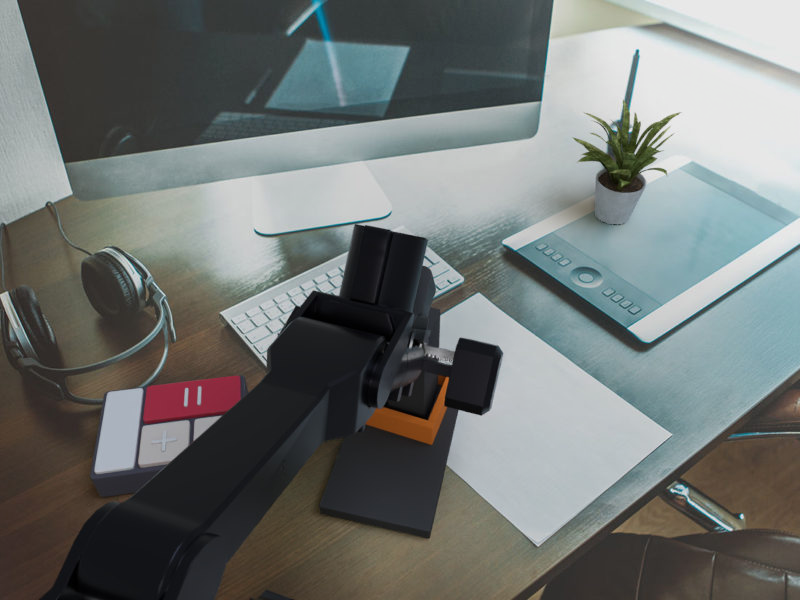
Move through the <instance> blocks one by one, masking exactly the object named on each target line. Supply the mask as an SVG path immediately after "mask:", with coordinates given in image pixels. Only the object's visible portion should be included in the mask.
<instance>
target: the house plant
mask: <svg viewBox="0 0 800 600" xmlns="http://www.w3.org/2000/svg"><path fill="white" fill-rule="evenodd" d="M622 107H623V108H622V109H623V111H622V112H623V117H622V118H623V119H622V127H620V126H619V125H618V124H617V123H616V122H615V121H613V120H612V119H610V121H611V122H612V123H613V124H614V125H615V126H616V128H617V132H616V134H615V131H614V130H613V129H612V128H611V126H610V124H609V123H607V122H606V121H605V120H604V119H602V118H600V117H598V116H595V115H594V114H590V113H588V112H584V111H582V113H583V114H585V115H587V116H589V117H591V118H592V119H594V120H591V121H592V122H594V123H596V124H598V125H600V126H601V128H602V129H603V130H604V132H605V133H606V136H607V138H608V140H605V139H604V138H603V137H602V136H600V135H599V134H597V133H595V132H589V135H593V136H596V137H598V138H600V139H601V140H602V141H603V142H605V144H607V146H608V147H609V148H610V150H611V152H612V154H613V156H614V158H615V160H614V159H613V157H611V156H610V155H609V154H608V153H607V152H605V151H604V150H602V149H600V148H599V147H596V146H595V145H593V144H592V143H590V142H588V141H586V140H584V139H580V138H576V137H572V139H573V140H574V141H575V142H576V143H578V144H580V145H582V146H583V147H584V148H585V149H586V152H583V153H581V154H580V156H583V157H581V158H580V159H579V160H578V161H577V163H579V162H580V163H581V162H582V163H583V162H585V163H586V162H597V163H600V164H601V165H602V166H603V168H601V169H600V170H599V171H598V172H597V173H596V175H595V185H594V186H595V189H594V216H595V217H596V219H597V218H598V221H600V220H601V221H600V222H602V221H603V222H606V223H607V224H606V223H605V224H606V225H610V224H612V225H611V226H614V225H613V224H617V225H616V226H619V225H618V224H621V225H624V224H626V223H627V222H628V221H629V220H630V217H631V216H632V214H633V213H634V210H635V208H636V206H637V205H638V202H639V200H640V199H641V197H642V195H643V193H644V191H645V189H646V187H647V184H648V183H647V179H646V178H645V176H644V174H642V173H645V172H646V171H657V172H661V173H664V174H665V175H666V177H667V178H668V172H667V170H666V169H665V168H662V167H651V168H647V169H645V168H646V167H648V166H650V165H651V164H653V163H655V162H656V161H657V160H658V158H657V157H655V155H656V154H658V153H661V152H665V150H659V149H658V148H660V147H661V146H662V145H664V143H665V142H666V141H668V140H669V139H670V138H671V137H672V136H673V135H674V133H672V134H671V135H669V136H667V137H666V138H664V139H663V140H662V141H661V142H659V143H658V144H657V145H656V146H655V147H652V146H654V144H656V143H657V142H658V141H659V140H660V139H661V138H662V137H663V136H664V135H665V133H667V131H668V130H669V129H670V128H671V127H672V125H669V126H668V127H667V128H666V129H664V130H663V131H662V132H660V131H661V130H662V129H663V128H664V127H666V125H667V124H669V122H671V120H673V118H675V117H677V116H679V115H680V114H682V112H680V111H679V112H676V113H672V114H669V115H667V116H666V117H663V118H662V119H661V120H659V121H655V122H653V123H651V124H650V125H648V127H646V128H645V130H644V131H643V132H642V133H641V135H640V131H641V127H642V123H641V121H639V120H638V115H637V113H636V112H634V115H633V116H634V117H633V125H632V128H631V129H632V130H631V135H630V138H629V134H630V121H631V113H630V109H629V108H628V105H627V103H626V101H625V100H624V99H622ZM658 133H659V134H658ZM657 134H658V136H657ZM639 135H640V137H639ZM638 138H639V139H638ZM643 139H644V140H643ZM653 139H654V140H653ZM642 140H643V141H642ZM641 142H642V143H641ZM639 145H640V146H639ZM637 149H638V150H637ZM635 152H636V153H635ZM643 169H644V170H643ZM603 222H602V223H603ZM623 223H624V224H623Z"/></svg>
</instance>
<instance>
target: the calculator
mask: <svg viewBox="0 0 800 600" xmlns="http://www.w3.org/2000/svg"><path fill="white" fill-rule="evenodd" d="M248 392H249V390H248V384H247V378H246V376H245V375H243V374H239V375H230V376H229V375H228V376H222V377H213V378H205V379H196V380H195V379H194V380H187V381H180V382H170V383H163V384H153V385H147V386H139V387H130V388H122V389H114V390H108V391H106V392H104V394H103V398H102V403H101V404H102V405H101V409H100V416H99V421H98V422H99V423H98V428H97V433H96V440H95V444H94V450H93V456H92V462H91V468H90V475H89V478H90V481H91V482H92V484H93V486H94V488H95V489H96V492H97V493H98V495H99V496H100V497H101V498H105V497H106V498H108V497H113V496H114V497H115V496H120V495H127V494H135V493H136V492H137V491H138V490H139V489H140V488H141V487H142V486H144V485H145V484H146V483H147V482H148V481H149V480H150V479H151V478H153V477H154V476H155V475H156V474H157V473H158V472H159V471H161V470H162V469H163V468H164V467H165V466H166V465H167V464H168V463H170V462H171V461H172V460H173V459H174V458H175V457H176V456H177V455H179V454H180V453H181V452H182V451H183V450H184V449H185V448H186V447H188V446H189V445H190V444H191V443H192V442H193V441H194V440H195V439H197V438H198V437H199V436H200V435H201V434H202V433H203V432H204V431H206V430H207V429H208V428H209V427H210V426H211V425H212V424H213V423H215V422H216V421H217V420H218V419H219V418H220V417H221V416H222V415H224V414H225V413H226V412H227V411H228V410H229V409H230V408H232V407H233V406H234V405H235V404H236V403H237V402H238V401H239V400H241V399H242V398H243V397H244V396H245V395H246V394H247V393H248Z"/></svg>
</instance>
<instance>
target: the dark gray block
mask: <svg viewBox="0 0 800 600" xmlns="http://www.w3.org/2000/svg"><path fill="white" fill-rule="evenodd" d="M428 318H429V322H428V326H427V330H431V332H430V337H429V341H428V344H427V345H429V346H434V347H438V348H440V335H441V309H440V308H436V307H432V306H431V308H430V311H429V314H428ZM424 359H429V360H433V361H437V362H440V357H439V358H438V359H436V356H435V357H434V358H432V355H431V356H430V357H428V354H426V356H424ZM437 392H438V375H437V374H433V373H429V372H425V371H421V373H420V375H419V376H418V378H417V379H416V380H415V381H414V384H413V388H412V393H411V396H409V397H408V396H404V395H401V398H400V401H398V402H395V401H392V400H388V409H392V410H395V411H398V412H402V413H405V414H408V415H411V416H415V417H418V418H421V419H425V420H427V418H428V415H429V413H430V410H431V408H432V405H433V403H434V400H435V397H436V395H437Z"/></svg>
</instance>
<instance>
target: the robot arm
mask: <svg viewBox="0 0 800 600" xmlns="http://www.w3.org/2000/svg"><path fill="white" fill-rule="evenodd" d="M428 242H429V239H428V238H426V237H423V236H418V235H413V234H410V233H409V234H408V233H405V232H404V233H403V232H398V231H394V230H391V229H389V228H388V229H387V228H384V227H378V226H373V225H368V224H364V225H362V224H359V223H355V224H354V225H353V229H352V234H351V238H350V243H349V248H348V251H347V255H346V256H347V257H346V262H345V266H344V270H343V275H342V278H341V279H342V280H341V284H340V289H339V294H332V293H328V292H323V291H320V290H319V291H318V290H312V291H311V292H310V294H309V295H308V296H307V297H306V299H305V300H304V301H303V303H302V304H301V305H300V306H299V305H295V307H294V308H293V310H292V311H291V313H290V315H289V317H288V318H287V320H286V321H285V323H284V324H283V326H282V328H281V329H280V331H279V333H278V335H277V337H276V338H275V339H274V340H273V342H271V344H270V345H269V346H268V347H267V349H266V367H265V368H266V369H265V370H266V371H265V375H264V376H263V378H262V379H260V381H259V382H258V383H257V384H256V385H255V386H254V387H253V388H252V389H250V391H248V393H247V394H246V395H245V396H244V397H243V398H242V399H241V400H239V401H238V402H237V403H236V404H235V405H234V406H233V407H232V408H230V409H229V410H228V411H227V412H226V413H225V414H224V415H222V416H221V417H220V418H219V419H218V420H217V421H216V422H215V423H213V424H212V425H211V426H210V427H209V428H208V429H207V430H206V431H204V432H203V433H202V434H201V435H200V436H199V437H198V438H197V439H195V440H194V441H193V442H192V443H191V444H190V445H189V446H188V447H186V448H185V449H184V450H183V451H182V452H181V453H180V454H179V455H177V456H176V457H175V458H174V459H173V460H172V461H171V462H170V463H168V464H167V465H166V466H165V467H164V468H163V469H162V470H161V471H159V472H158V473H157V474H156V475H155V476H154V477H153V478H151V479H150V480H149V481H148V482H147V483H146V484H145V485H144V486H142V487H141V488H140V489H139V490H138V491H137V492H135V493H132V494H131V496H130V497H129V498H128V499H126V500H124V501H119V500H117V501H109V502H107V503H105V504H104V505H102V506H100V507H99V508H97V509H96V510H95V511H94V512H93V513H92V514H91V515H90V516H89V518H87V520H86V521H85V522H84V524H83V525H82V527H81V529H80V530H79V532H78V533H77V535H76V537H75V539H74V540H73V543H72V545H71V547H70V549H69V551H68V553H67V556H66V558H65V559H64V562H63V563H62V566H61V568H60V570H59V573H58V575H57V577H56V579H55V581H54V583H53V585H52V587H51V588H50V589H49V590H48V591H46V592H45V593H44V594H43V595H42V596H41V597H40V598H39V599H38V600H215V599H216V597H217V593H218V592H219V589H220V586H221V583H222V580H223V578H224V577H223V576H224V573H225V570H226V568H227V564H228V563H229V561H230V560H231V559H232V558H233V556H234V555H235V554H236V553H237V551H238V550H239V549H240V547H242V545H243V544H244V542H245V541H246V540H247V539H248V537H249V536H250V534H251V533H252V532H253V531H254V529H256V527H258V524H259V523H260V522H261V521H262V519H263V518H264V517H265V515H266V514H267V513H268V512H269V510H270V509H271V508H272V506H274V504H275V503H276V501H278V499H279V498H280V496H281V495H282V494H283V493H284V491H285V490H286V489H287V487H288V486H289V485H290V484H291V482H292V481H293V480H294V478H296V476H297V475H298V473H299V472H300V471H301V470H302V469H303V468H304V466H305V464H306V463H307V462H308V461H309V459H310V458H311V457H312V456H313V454H314V453H315V452H316V451H317V449H318V448H319V447H321V445H322V444H324V443H325V442H330V441H331V442H332V441H334V440H339V439H342V438H343V439H344V437H347V436H351V435H353V434H355V433H356V432H358V433H362V432H363V431H364V429H365V425H366V422H367V421H368V420H369V419H370V417H371V416H372V415H373V413H374V411H375V410H376V408H377V409H381V408H382V407H383V406H384V405H385V403H386V401H387V399H388V400H392V401H395V402H398V401H400V398H401V395H404V396H408V397H409V396H411V393H412V388H413V384H414V381H415V380H416V379H417V378H418V376H419V375H420V373H421V371H425V372H429V373H433V374H437V375H441V376H445V377H449V380H448V385H447V389H446V394H445V403H444V406H445V407H449V408H453V409H457V410H458V411H462V412H465V413H469V414H473V415H477V416H480V417H482V416H483V415H485V414H486V413H488V412H490V411H491V410H492V407H493V402H494V398H495V393H496V389H497V385H498V380H499V376H500V371H501V366H502V362H503V357H504V352H503V350H502V349H501V347H500V346H499V345H498V344H494V343H489V342H484V341H480V340H476V339H471V338H466V337H458V340H457V343H456V346H455V349H454V350H450V349H446V348H442V347H439V348H438V347H434V346H429V345H427V344H428V341H429V337H430V332H431V330H427V326H428V322H429V318H428V314H429V311H430V308H431V307H432V304H433V301H434V298H435V296H436V292H437V286H436V282H435V279H434V275H433V274H434V273H433V271H432V270H431V268H430V267H428V266H426V265H424V261H425V256H426V252H427V247H428V244H429V243H428ZM426 354H428V357H430V356H431V355H432V358H434V357H435V356H436V359H438V358H439V362H437V361H433V360H429V359H424V356H426ZM443 360H444V362H441V361H443ZM447 361H448V363H445V362H447ZM451 362H452V363H451ZM449 363H451V364H449ZM248 600H295V599H294V598H291V597H289V596H286V595H284V594H280V593H277V592H274V591H271V590H268V589H265V590H264V591H263V592H262V593H260V595H259V596H257V597H252V596H249V599H248Z"/></svg>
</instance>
